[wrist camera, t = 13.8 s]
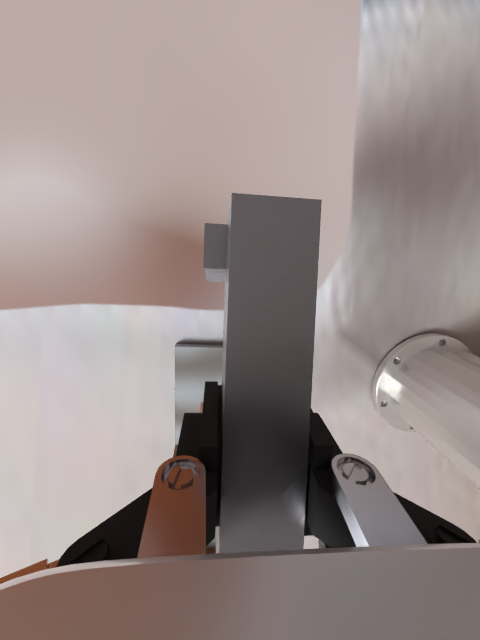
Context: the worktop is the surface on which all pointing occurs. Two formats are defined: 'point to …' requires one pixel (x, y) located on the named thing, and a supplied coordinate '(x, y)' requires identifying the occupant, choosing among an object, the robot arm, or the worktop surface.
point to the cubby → (195, 385)
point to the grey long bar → (265, 366)
